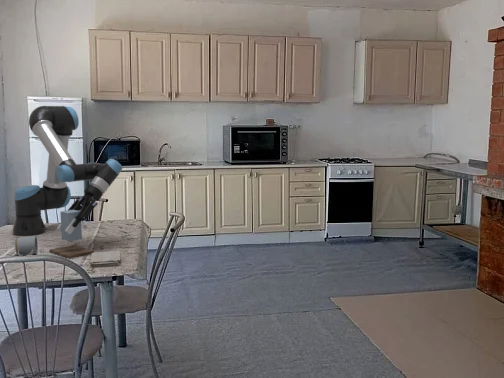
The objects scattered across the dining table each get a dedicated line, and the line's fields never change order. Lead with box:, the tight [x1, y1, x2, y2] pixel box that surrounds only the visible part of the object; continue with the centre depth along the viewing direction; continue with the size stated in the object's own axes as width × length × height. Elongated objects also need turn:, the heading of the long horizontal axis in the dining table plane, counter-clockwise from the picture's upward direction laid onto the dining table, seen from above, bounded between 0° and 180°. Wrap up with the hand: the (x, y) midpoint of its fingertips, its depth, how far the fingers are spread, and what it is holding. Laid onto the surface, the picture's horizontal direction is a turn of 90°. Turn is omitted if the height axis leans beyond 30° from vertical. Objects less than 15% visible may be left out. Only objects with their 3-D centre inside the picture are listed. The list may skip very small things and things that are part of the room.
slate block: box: [60, 209, 83, 242], centre depth 223 cm, size 6×6×12 cm
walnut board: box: [48, 244, 95, 260], centre depth 225 cm, size 16×12×1 cm
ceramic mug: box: [14, 235, 39, 257], centre depth 221 cm, size 11×8×8 cm
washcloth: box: [89, 250, 121, 268], centre depth 213 cm, size 12×18×3 cm, turn 16°
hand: (63, 231), depth 221 cm, fingers closed on slate block, 6 cm apart
